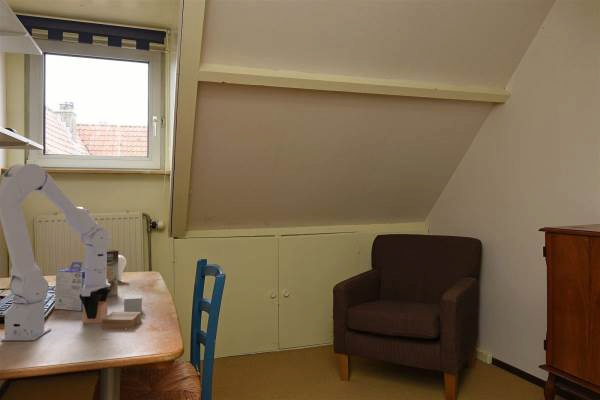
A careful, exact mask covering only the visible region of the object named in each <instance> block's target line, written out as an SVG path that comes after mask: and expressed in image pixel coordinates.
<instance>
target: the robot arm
mask: <svg viewBox="0 0 600 400" xmlns="http://www.w3.org/2000/svg"><path fill="white" fill-rule="evenodd" d="M32 192H35V193H40V194H43V195H44V196H45V197H46V198H48V199H49V201H51V202H52V204H54V205H55V207H57V208H58V209H59V210H60V211H62V213H64V216H65V217H64V221H65V222H66V224H68V225H69V226H70V228H71V229H72V230H73V231H74V232H75V233H77V235H79V237H80V240H81V242H82V244H84V245H85V246H84V249H85V250H84V270H85V284H84V288H83V289H82V293H81V294H80V295H79V298H80V299H81V301H82V303H83V305H84V308H85V311H86V315H87V318H88V319H95V318H96V315H97V308H98V303H99V301H107V299H108V297H109V296H108V294H109V293H110V291H111V288H105V287H109V286H111V284H110V283H108V279H106V275H107V250H108V246H109V245H110V243H111V241H112V237H111V236H110V233H109V231H108V230H107V229H106V228H104V227H100V226H101V223H100V222H99V221H96V220H95V219H94V218H93V217H92V215H90V214H89V213H90V210H89V209H87V208H84V207H82V206H76V205H75V204H74V202H72V200H71V199H70V198H69V197H68V196H67V194H66V193H64V191H63V189H61V188H60V186H59V185H58V184H57V183H56V181H55V180H54V179H53V177H52V176H51V175H50V174H49V173H48V172H46V171H45V169H44V168H43V167H42V166H40V165H39V164H37V163H27V164H14V165H11V166H10V167H9V168H8V169H7V170H5V172H4V173H3V174H2V176H1V182H0V222H1V223H0V224H1V229H2V231H3V235H4V240H5V243H6V247H7V251H8V255H9V259H10V263H11V268H10V271H9V274H10V282H9V283H8V287H9V290H10V292H11V294H13V297H12V303H11V306H10V307H9V308H8V309H7V311H6V312H5V315H4V336H3V337H1V338H0V341H34V340H36V339H38V338H39V337H41V336H43V335H44V334H46V333H48V332H49V331H51V330H52V327H45V304H46V303H45V299H46V298H45V296H46V295H47V294H48V292H49V289H50V286H49V283H48V282H49V281H48V280H47V279H46V278H45V277H44V276H43V274H42V270H41V269H40V267H39V266H38V264H37V263H36V260H35V255H34V252H33V248H32V242H31V239H30V234H29V230H28V226H27V221H26V218H25V215H24V210H23V206H22V203H23V202H24V201H25V199H26V198H27V197H28V195H30V193H32Z"/></svg>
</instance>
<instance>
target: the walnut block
mask: <svg viewBox="0 0 600 400" xmlns="http://www.w3.org/2000/svg"><path fill="white" fill-rule="evenodd" d="M140 322H142V314H141V312H124V311H112V312H111V313H109V314H107V317H105V318H104V319H103V322H102V330H130V329H129V328H133V327H134V328H136V326H137V325H139V323H140ZM125 328H127V329H125ZM134 328H133V329H134Z"/></svg>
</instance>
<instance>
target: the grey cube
mask: <svg viewBox="0 0 600 400" xmlns="http://www.w3.org/2000/svg"><path fill="white" fill-rule="evenodd" d="M123 303H124V304H123V312H141V315H142V314H143V313H142V312H143V295H142V294H131V295H130V294H129V295H127V294H126V295H124V299H123Z"/></svg>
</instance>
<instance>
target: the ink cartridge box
mask: <svg viewBox="0 0 600 400" xmlns="http://www.w3.org/2000/svg"><path fill="white" fill-rule="evenodd" d="M74 265H75V266H74ZM76 265H78V266H76ZM82 266H83V262H79V261H78V262H77V261H72V263H71V265H70V267H69V268H65V269H64V268H63V269H59V270H56V271H55V291H54V292H55V293H54V309H55V310H65V311H78V312H80V311H82V312H83V303H82V301H81V299H80V298H79V295H80V294H81V293H82V289H83V288H84V284H85V269H82Z"/></svg>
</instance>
